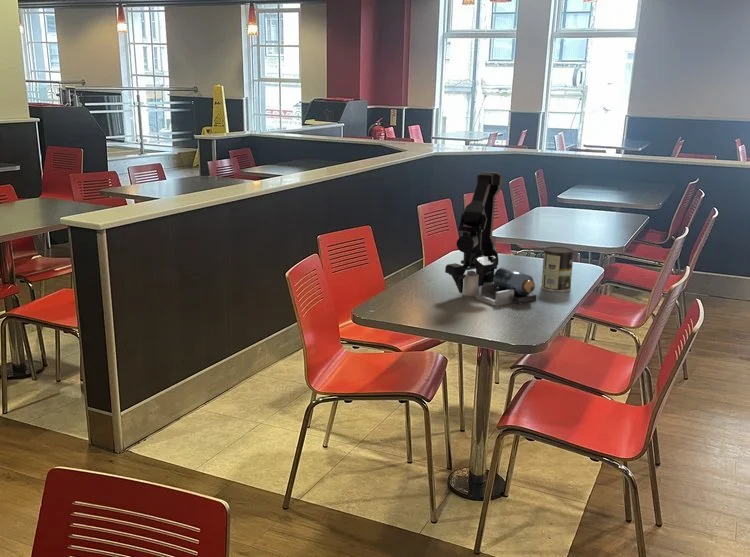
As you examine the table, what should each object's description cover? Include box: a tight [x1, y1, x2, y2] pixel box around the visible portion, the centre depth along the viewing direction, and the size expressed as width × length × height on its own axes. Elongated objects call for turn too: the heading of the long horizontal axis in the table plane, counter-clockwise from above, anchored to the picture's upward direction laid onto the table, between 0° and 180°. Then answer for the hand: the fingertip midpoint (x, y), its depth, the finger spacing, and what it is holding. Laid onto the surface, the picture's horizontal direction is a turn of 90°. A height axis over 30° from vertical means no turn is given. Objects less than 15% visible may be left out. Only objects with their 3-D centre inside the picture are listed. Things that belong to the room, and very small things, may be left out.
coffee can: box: [541, 246, 575, 293], centre depth 245 cm, size 10×10×14 cm
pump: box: [462, 270, 479, 298], centre depth 237 cm, size 5×5×8 cm
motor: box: [475, 267, 537, 307], centre depth 232 cm, size 15×16×9 cm
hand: (470, 291), depth 238 cm, fingers open, 8 cm apart
